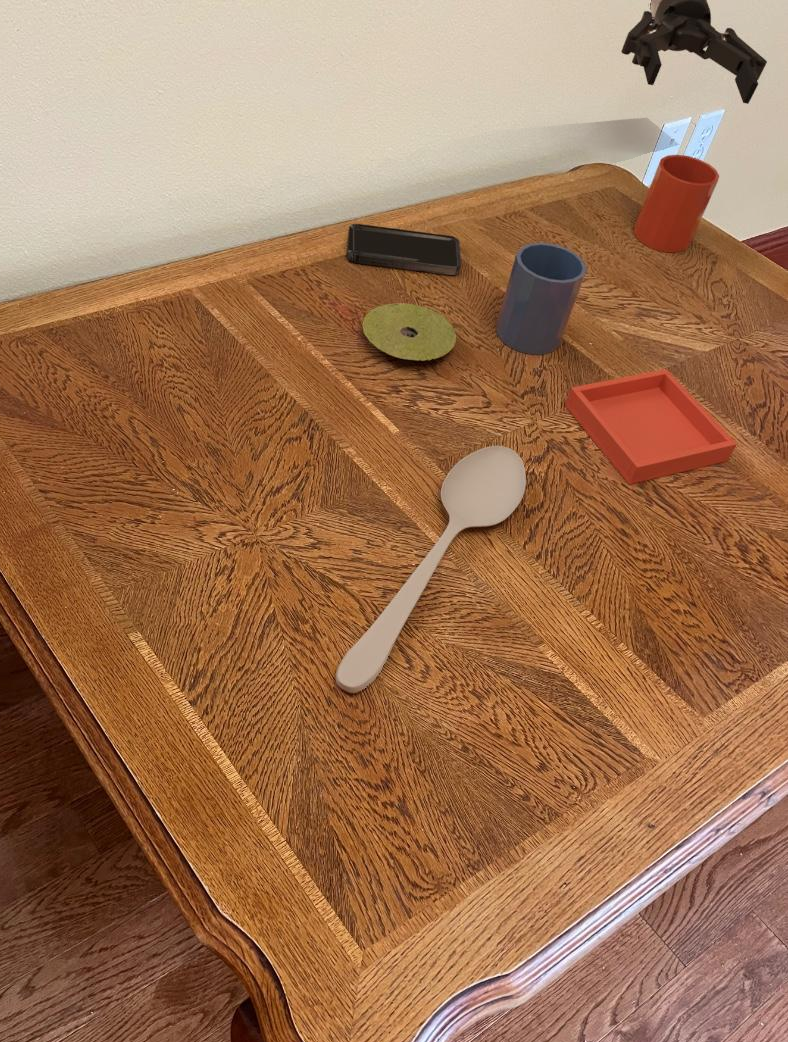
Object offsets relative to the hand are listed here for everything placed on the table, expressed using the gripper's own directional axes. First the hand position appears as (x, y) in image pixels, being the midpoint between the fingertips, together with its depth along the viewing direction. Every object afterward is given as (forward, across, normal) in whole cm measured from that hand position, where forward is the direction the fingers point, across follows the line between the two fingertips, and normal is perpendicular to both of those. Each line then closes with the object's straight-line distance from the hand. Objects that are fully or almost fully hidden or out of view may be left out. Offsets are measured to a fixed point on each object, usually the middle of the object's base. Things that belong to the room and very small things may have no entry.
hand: (703, 84), depth 127 cm
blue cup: (+37, +21, -16) cm, 46 cm away
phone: (+23, +37, -18) cm, 47 cm away
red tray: (+53, +9, -15) cm, 56 cm away
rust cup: (+9, -1, -17) cm, 20 cm away
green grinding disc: (+42, +36, -17) cm, 58 cm away
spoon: (+78, +33, -15) cm, 86 cm away
